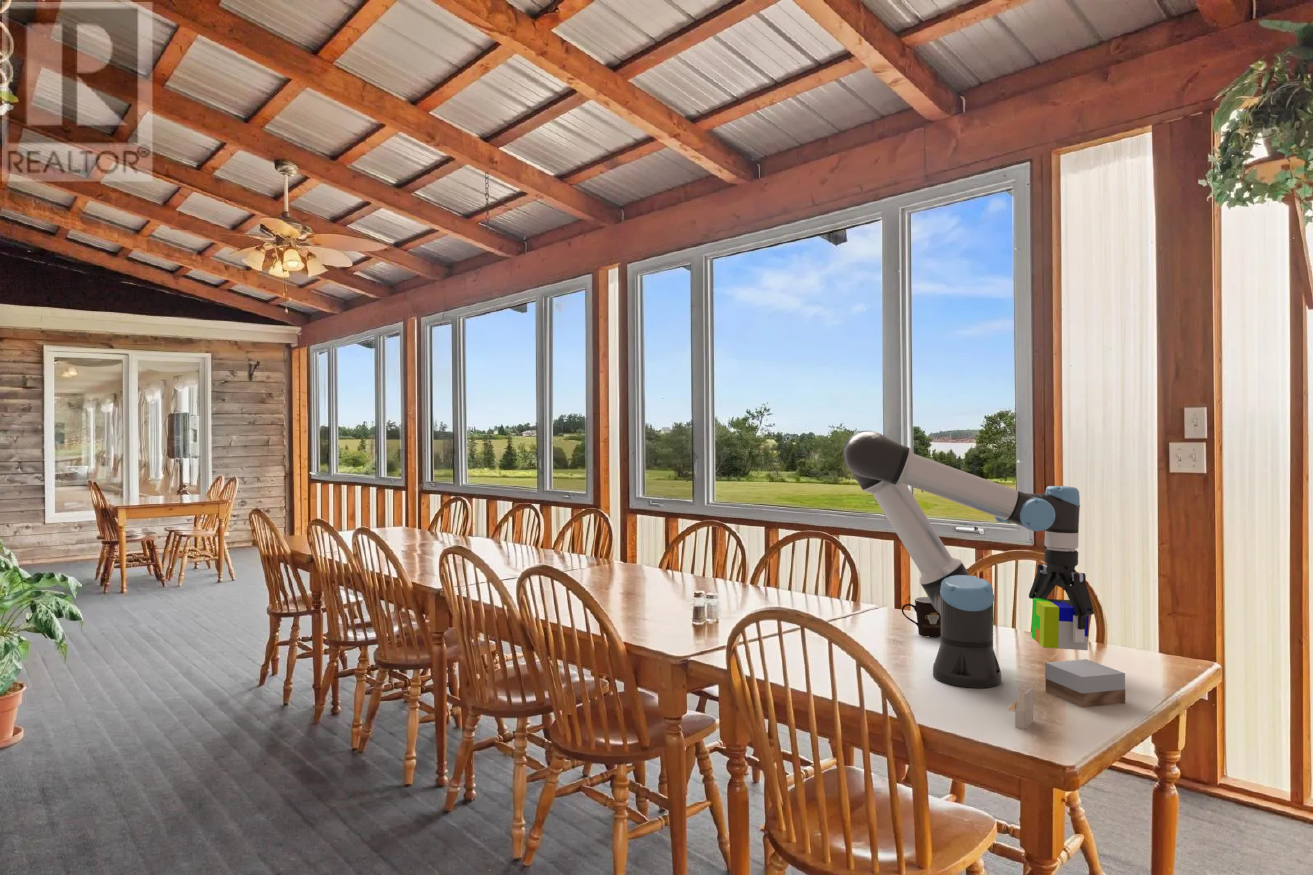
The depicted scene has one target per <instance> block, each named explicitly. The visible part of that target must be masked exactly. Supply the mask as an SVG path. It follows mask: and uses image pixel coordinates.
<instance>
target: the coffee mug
mask: <svg viewBox="0 0 1313 875" xmlns="http://www.w3.org/2000/svg"><path fill="white" fill-rule="evenodd" d="M908 606H909V607H912V609H914V611H915V612H916V620H917V621H915V620H913V619H911V618H910V617H909V616H907V615H906V613H905V612H904V610H905V608H906V607H908ZM901 613H902V615H903V617H905V618H906V619H907V620H908V621H910V622H912V623H913V624H915V625H916V627H917V628H918V629H917V630H918V635H919V636H922V637H924V636H929V637H928V638H941V637H940V636H941V615H940V614H939V613H938V612H937V611H936V610H935V608H934V607H933V605H932V604H931V601H930V598H929V597H928V596H920V597H919V596H918V597H915V598H914V604H913V603H912V604H911V603H905V604H903V605H902V607H901Z"/></svg>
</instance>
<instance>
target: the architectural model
mask: <svg viewBox="0 0 1313 875" xmlns="http://www.w3.org/2000/svg"><path fill="white" fill-rule="evenodd" d="M1007 712H1011V713H1014V714H1015V716H1014V719H1015V720H1014V724H1015V725H1014V727H1015V728H1017V729H1022V730H1026V729H1027V728H1028V727H1029V726H1030V725H1031V724H1032V723H1033V722H1034V687H1033V686H1031V687H1030V688H1025V687H1020V688H1019V692H1018V696H1017V700H1016V701H1015V702H1013V703H1012V704H1010V706H1009V707H1008V708H1007Z"/></svg>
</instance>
